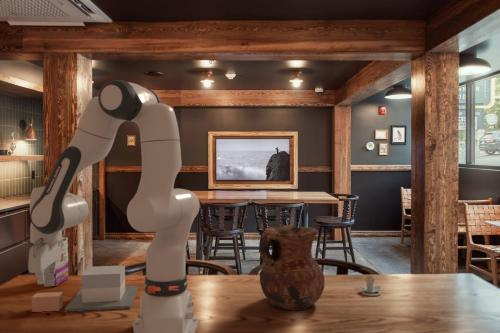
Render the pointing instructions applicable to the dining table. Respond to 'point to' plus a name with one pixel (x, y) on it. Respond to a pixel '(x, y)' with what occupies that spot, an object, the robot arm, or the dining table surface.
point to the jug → (290, 268)
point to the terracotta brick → (47, 301)
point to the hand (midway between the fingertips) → (46, 278)
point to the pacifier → (370, 287)
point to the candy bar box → (59, 268)
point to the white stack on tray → (103, 290)
